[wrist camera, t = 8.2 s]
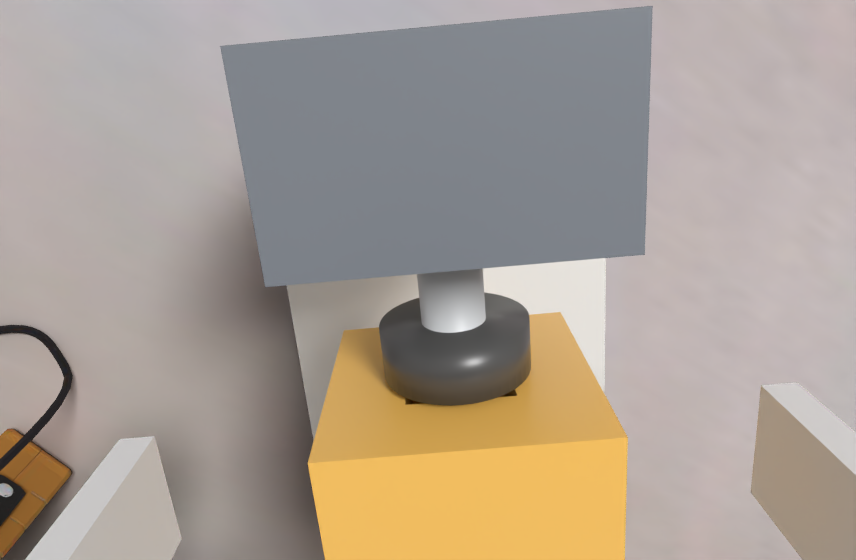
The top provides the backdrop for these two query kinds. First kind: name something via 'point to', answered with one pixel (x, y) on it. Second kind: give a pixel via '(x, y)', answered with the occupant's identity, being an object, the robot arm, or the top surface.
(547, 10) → the top surface
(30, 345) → the top surface
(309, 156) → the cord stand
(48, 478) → the multimeter
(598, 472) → the cube with square hole
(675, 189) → the top surface
